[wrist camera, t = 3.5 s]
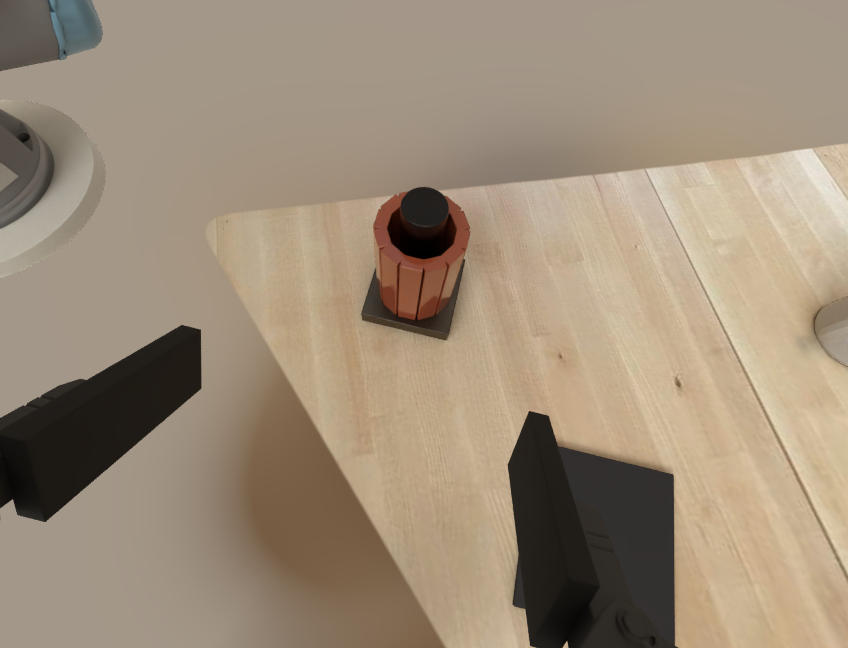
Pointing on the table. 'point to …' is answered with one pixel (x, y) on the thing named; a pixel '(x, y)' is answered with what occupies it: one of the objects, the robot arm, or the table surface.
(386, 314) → the post stand
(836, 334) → the cup
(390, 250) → the sleeve ring
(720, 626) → the table surface
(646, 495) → the mat
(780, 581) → the table surface
